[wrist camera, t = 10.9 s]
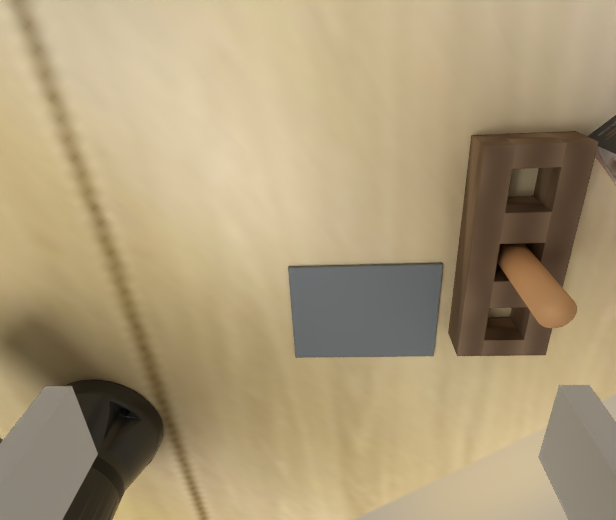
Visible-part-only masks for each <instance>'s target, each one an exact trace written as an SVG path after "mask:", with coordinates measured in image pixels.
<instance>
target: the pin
mask: <svg viewBox="0 0 616 520" xmlns="http://www.w3.org/2000/svg"><path fill="white" fill-rule="evenodd" d="M497 263H498V265H499V266H500V267H501V269H502V270H503V272H504V273H505V275H506V276H507V278H508V279H509V281H510V282H511V283H512V285H513V286H514V288H515V289H516V291H517V292H518V294H519V295H520V297H521V298H522V299H523V301H524V302H525V304H526V305H527V307H528V308H529V310H530V311H531V313H532V314H533V316H534V317H535V318H536V320H537V321H538V323H539V324H540V325H542V326H543V327H546V328H558V327H562V326H564V325H566V324H568V323H569V322H570V321H571V320H572V319H573V318H574V316H575V315H576V312H577V306H576V303H575V302H574V301H573V300H572V298H571V297H570V296H569V295H568V294H567V293H566V291H565V290H564V289H563V288H562V287H561V286H560V285H559V283H558V282H557V281H556V280H555V279H554V278H553V276H552V275H551V274H550V273H549V272H548V271H547V269H546V268H545V267H544V266H543V265H542V264H541V263H540V261H539V260H538V259H537V258H536V257H535V256H534V254H533V253H532V252H531V251H530V250H529V249H528V248H527V246H526V245H525V244H524V243H518V244H500V247H499V253H498V259H497Z"/></svg>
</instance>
